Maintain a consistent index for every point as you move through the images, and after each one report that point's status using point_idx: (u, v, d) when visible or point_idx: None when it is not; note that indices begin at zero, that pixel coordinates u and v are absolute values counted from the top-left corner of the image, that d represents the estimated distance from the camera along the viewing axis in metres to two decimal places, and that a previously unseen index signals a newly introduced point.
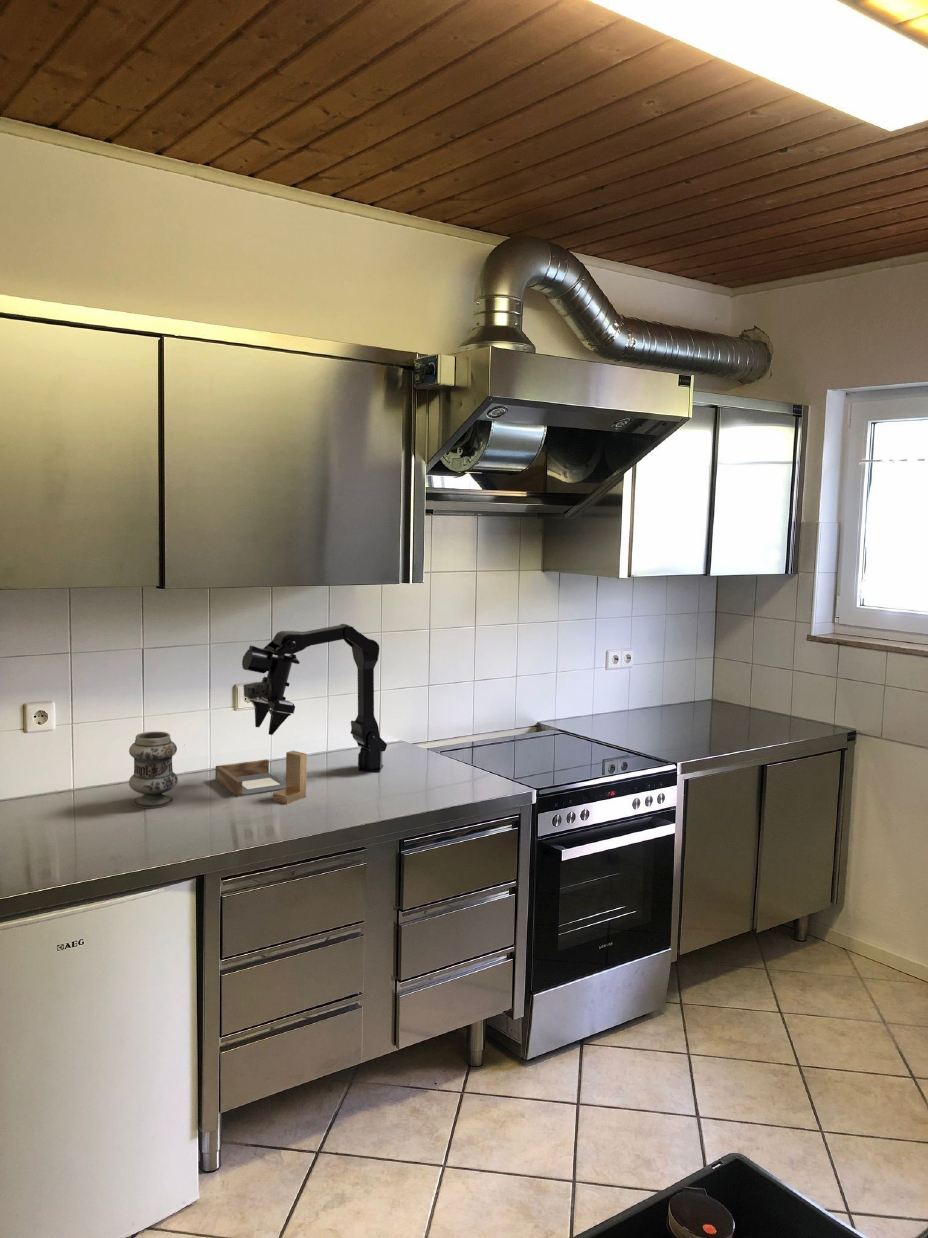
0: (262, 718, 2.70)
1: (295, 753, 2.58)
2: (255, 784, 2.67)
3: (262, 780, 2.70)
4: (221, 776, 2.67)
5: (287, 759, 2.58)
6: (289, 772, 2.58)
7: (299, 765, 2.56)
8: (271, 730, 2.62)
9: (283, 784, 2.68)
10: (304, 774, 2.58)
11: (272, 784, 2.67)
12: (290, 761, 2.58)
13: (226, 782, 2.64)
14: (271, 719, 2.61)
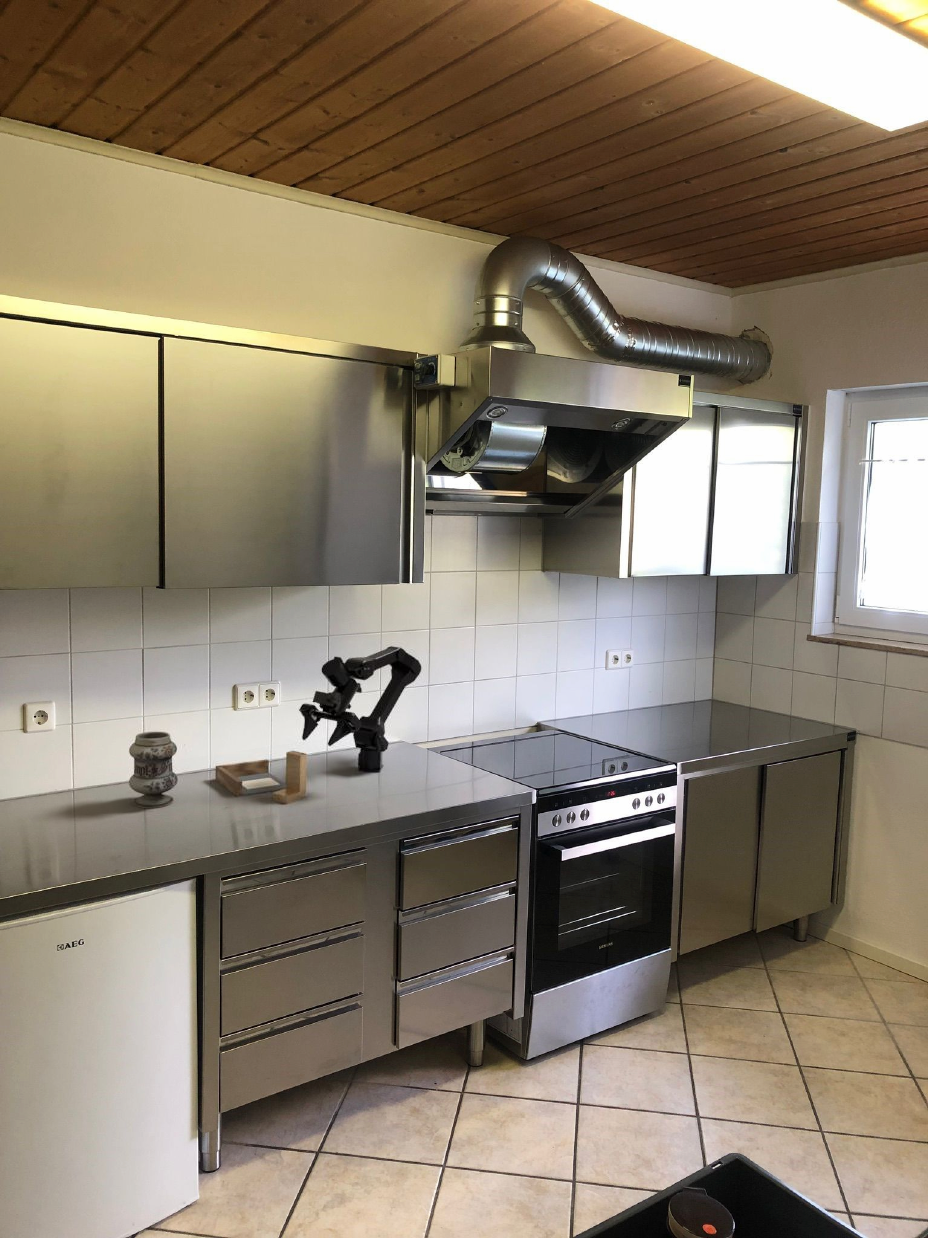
0: (309, 733, 2.69)
1: (295, 753, 2.58)
2: (255, 784, 2.67)
3: (262, 780, 2.70)
4: (221, 776, 2.67)
5: (287, 759, 2.58)
6: (289, 772, 2.58)
7: (299, 765, 2.56)
8: (332, 741, 2.62)
9: (283, 784, 2.68)
10: (304, 774, 2.58)
11: (272, 784, 2.67)
12: (290, 761, 2.58)
13: (226, 782, 2.64)
14: (336, 730, 2.63)
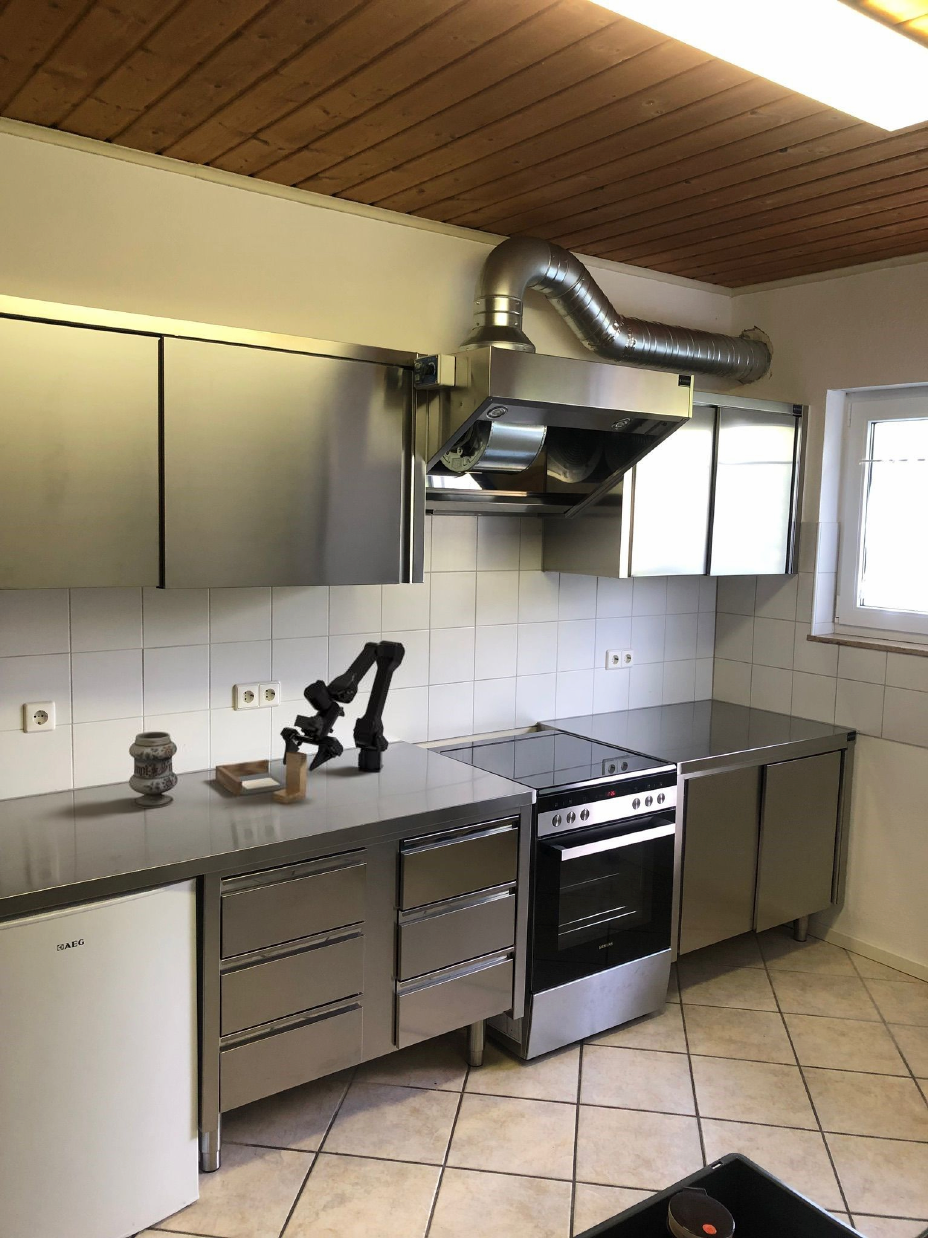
0: None
1: (295, 753, 2.58)
2: (255, 784, 2.67)
3: (262, 780, 2.70)
4: (221, 776, 2.67)
5: (287, 759, 2.58)
6: (289, 772, 2.58)
7: (299, 765, 2.56)
8: (313, 766, 2.56)
9: (283, 784, 2.68)
10: (304, 774, 2.58)
11: (272, 784, 2.67)
12: (290, 761, 2.58)
13: (226, 782, 2.64)
14: (318, 755, 2.57)
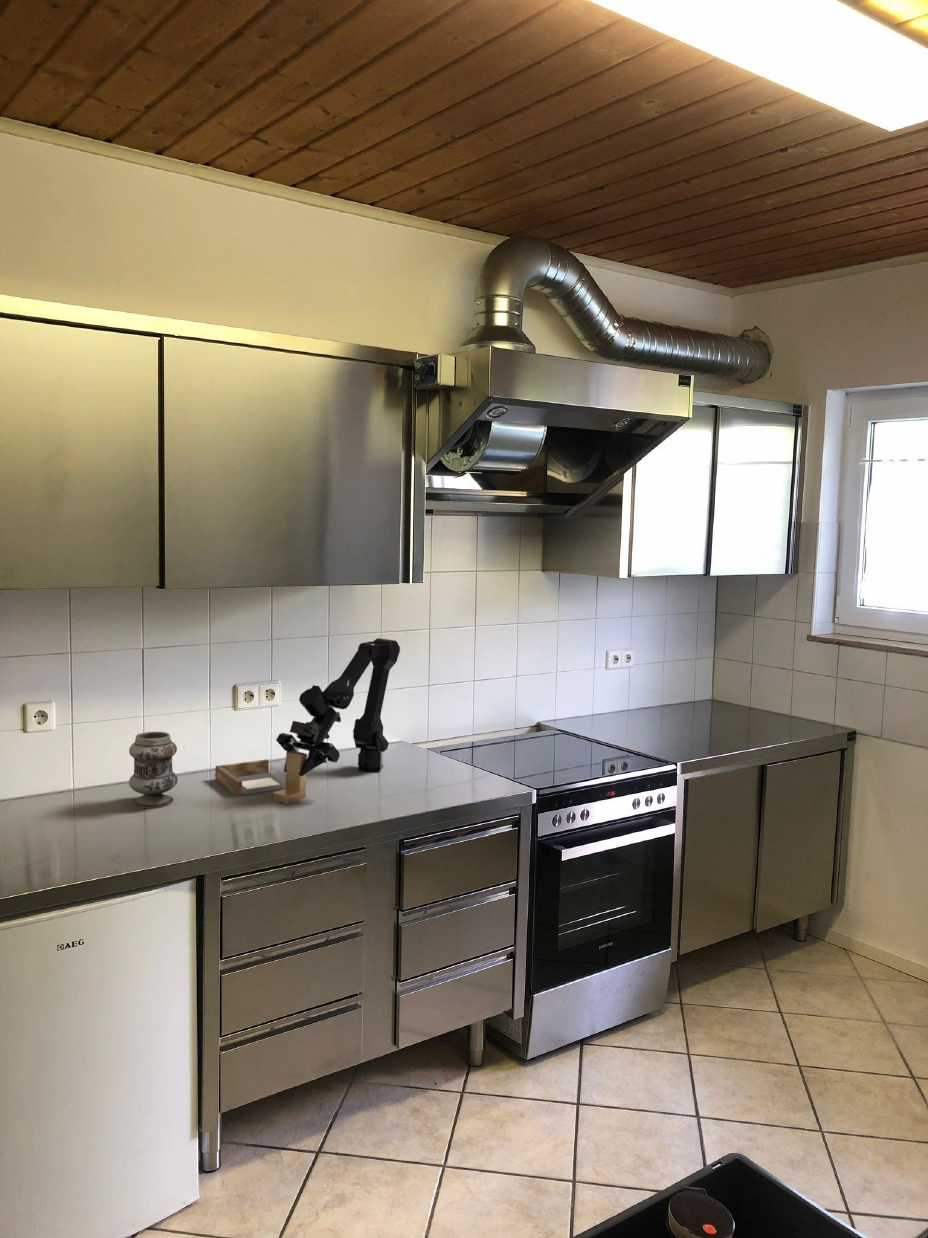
0: None
1: (295, 753, 2.58)
2: (255, 784, 2.67)
3: (262, 780, 2.70)
4: (221, 776, 2.67)
5: (287, 759, 2.58)
6: (289, 772, 2.58)
7: (299, 765, 2.56)
8: (303, 771, 2.56)
9: (283, 784, 2.68)
10: None
11: (272, 784, 2.67)
12: (290, 761, 2.58)
13: (226, 782, 2.64)
14: (308, 760, 2.57)
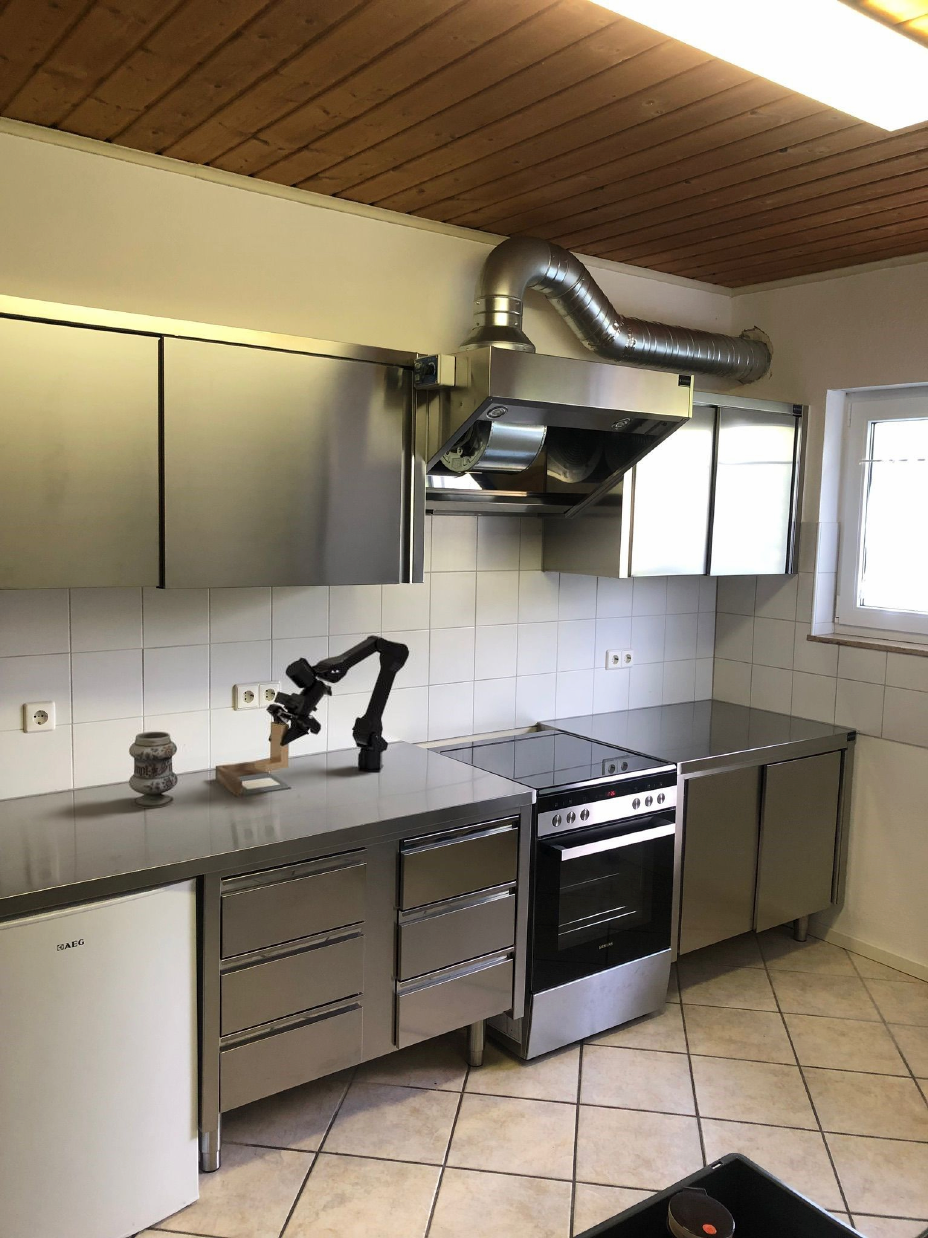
0: None
1: (278, 723, 2.61)
2: (255, 784, 2.67)
3: (262, 780, 2.70)
4: (221, 776, 2.67)
5: (271, 729, 2.62)
6: (273, 742, 2.62)
7: (280, 735, 2.60)
8: (284, 741, 2.59)
9: (283, 784, 2.68)
10: (286, 744, 2.61)
11: (272, 784, 2.67)
12: (273, 731, 2.62)
13: (226, 782, 2.64)
14: (289, 730, 2.60)
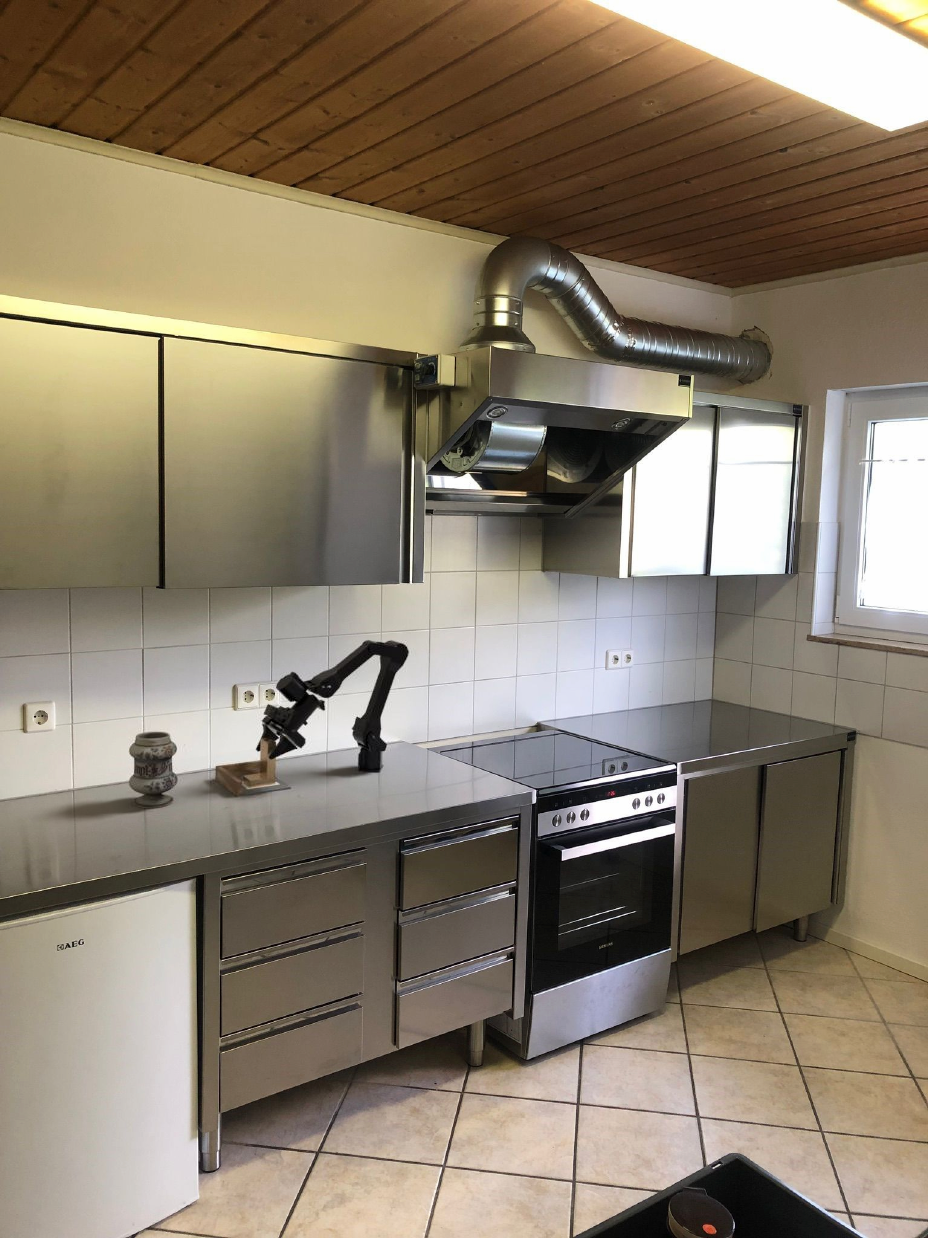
0: None
1: (266, 740, 2.67)
2: None
3: None
4: (221, 776, 2.67)
5: (261, 745, 2.69)
6: (262, 758, 2.69)
7: (267, 752, 2.66)
8: (272, 755, 2.64)
9: (283, 784, 2.68)
10: (273, 761, 2.67)
11: (272, 784, 2.67)
12: (262, 747, 2.68)
13: (226, 782, 2.64)
14: (278, 744, 2.64)
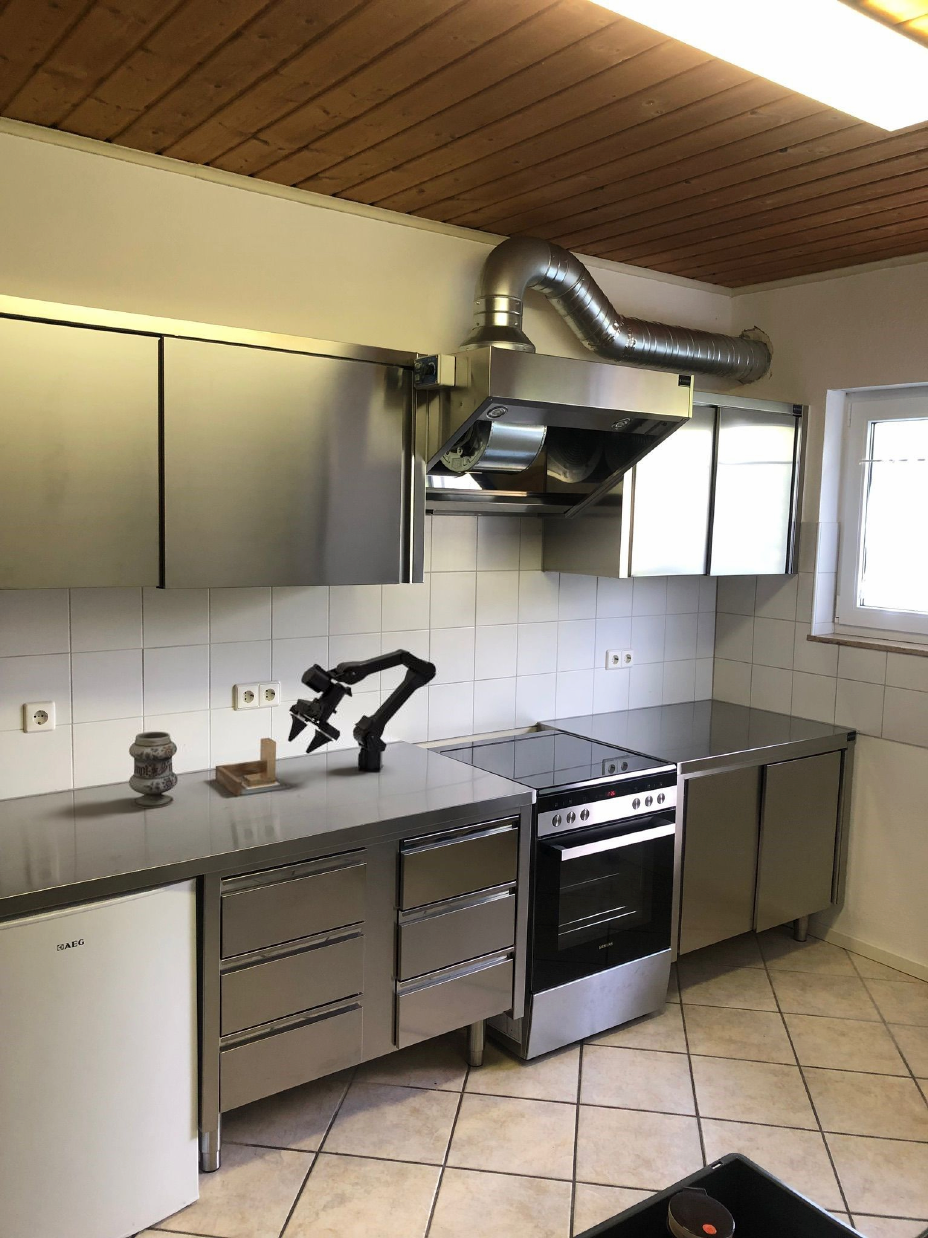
0: (295, 734, 2.79)
1: (266, 740, 2.67)
2: None
3: None
4: (221, 776, 2.67)
5: (261, 745, 2.69)
6: (262, 758, 2.69)
7: (267, 752, 2.66)
8: (309, 749, 2.71)
9: (283, 784, 2.68)
10: (273, 761, 2.67)
11: (272, 784, 2.67)
12: (262, 747, 2.68)
13: (226, 782, 2.64)
14: (314, 739, 2.71)
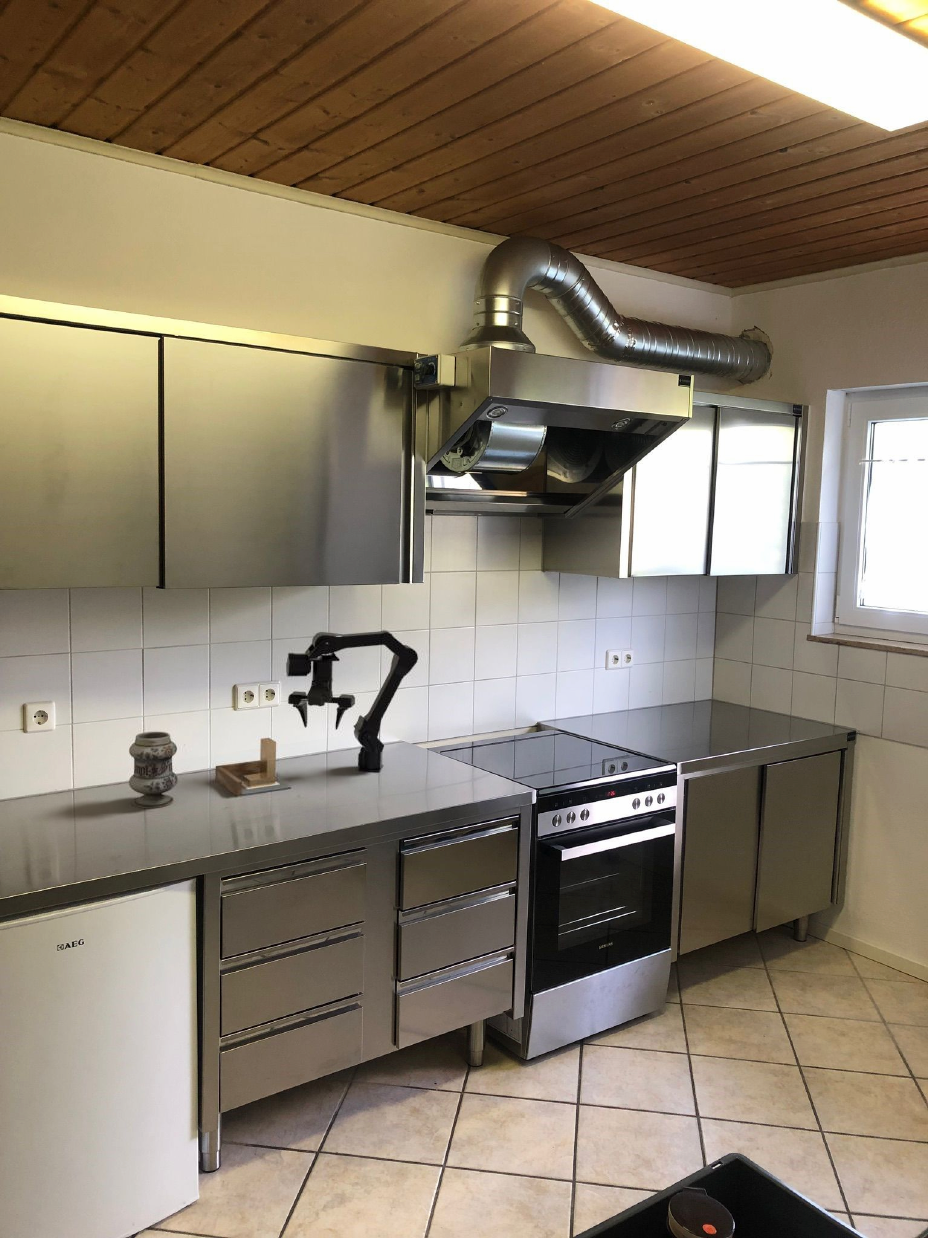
0: (306, 717, 2.82)
1: (266, 740, 2.67)
2: None
3: None
4: (221, 776, 2.67)
5: (261, 745, 2.69)
6: (262, 758, 2.69)
7: (267, 752, 2.66)
8: (338, 725, 2.81)
9: (283, 784, 2.68)
10: (273, 761, 2.67)
11: (272, 784, 2.67)
12: (262, 747, 2.68)
13: (226, 782, 2.64)
14: (339, 716, 2.79)
